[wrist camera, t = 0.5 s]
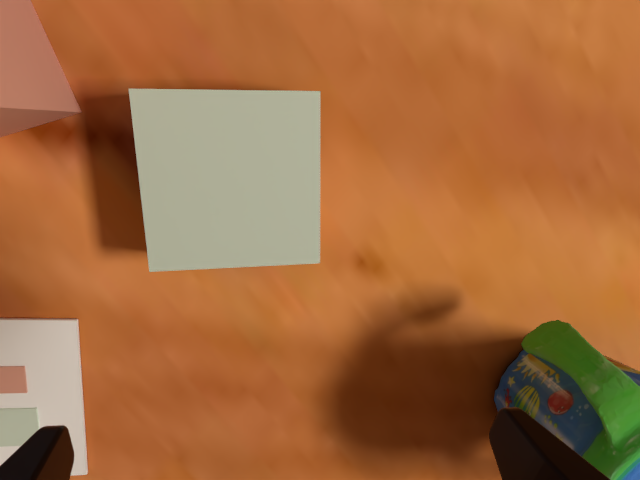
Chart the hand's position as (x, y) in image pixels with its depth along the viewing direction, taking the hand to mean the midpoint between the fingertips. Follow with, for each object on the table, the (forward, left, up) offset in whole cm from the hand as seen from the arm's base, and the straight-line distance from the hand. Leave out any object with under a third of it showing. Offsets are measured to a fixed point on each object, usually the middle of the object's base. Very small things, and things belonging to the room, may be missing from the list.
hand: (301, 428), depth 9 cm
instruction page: (-12, +12, -15) cm, 22 cm away
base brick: (+3, +3, -15) cm, 16 cm away
